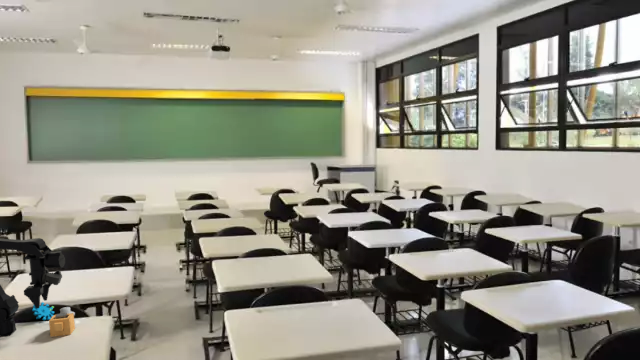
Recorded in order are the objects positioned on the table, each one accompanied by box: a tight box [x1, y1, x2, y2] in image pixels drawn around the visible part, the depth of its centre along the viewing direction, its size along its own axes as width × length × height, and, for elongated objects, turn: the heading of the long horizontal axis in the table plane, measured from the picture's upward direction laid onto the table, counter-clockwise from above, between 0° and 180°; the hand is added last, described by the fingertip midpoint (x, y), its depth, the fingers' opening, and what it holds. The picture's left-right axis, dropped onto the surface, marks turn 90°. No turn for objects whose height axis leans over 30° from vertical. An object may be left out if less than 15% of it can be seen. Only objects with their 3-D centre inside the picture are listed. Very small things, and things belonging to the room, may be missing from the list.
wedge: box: [55, 313, 68, 319], centre depth 209 cm, size 4×2×8 cm, turn 101°
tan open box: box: [48, 306, 76, 338], centre depth 211 cm, size 8×14×8 cm, turn 11°
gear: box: [31, 301, 55, 321], centre depth 226 cm, size 11×6×10 cm
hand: (41, 304), depth 211 cm, fingers open, 9 cm apart
